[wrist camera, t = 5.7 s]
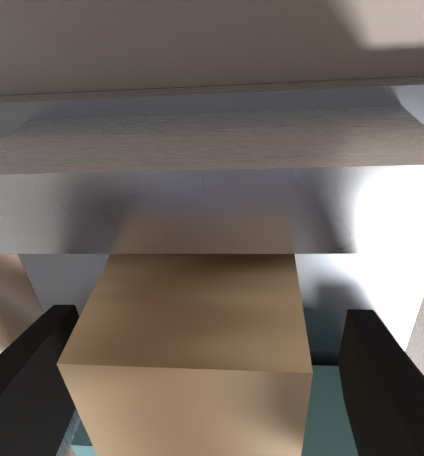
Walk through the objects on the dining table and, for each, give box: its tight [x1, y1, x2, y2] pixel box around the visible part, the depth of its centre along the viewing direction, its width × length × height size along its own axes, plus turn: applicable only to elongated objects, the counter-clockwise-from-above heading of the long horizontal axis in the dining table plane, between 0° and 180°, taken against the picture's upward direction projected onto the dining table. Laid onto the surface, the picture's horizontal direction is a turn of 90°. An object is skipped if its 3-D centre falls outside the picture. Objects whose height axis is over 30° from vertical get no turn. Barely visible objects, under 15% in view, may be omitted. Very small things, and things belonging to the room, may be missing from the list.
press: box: [0, 76, 424, 456], centre depth 13 cm, size 14×18×5 cm
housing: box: [57, 254, 313, 456], centre depth 10 cm, size 4×4×6 cm
